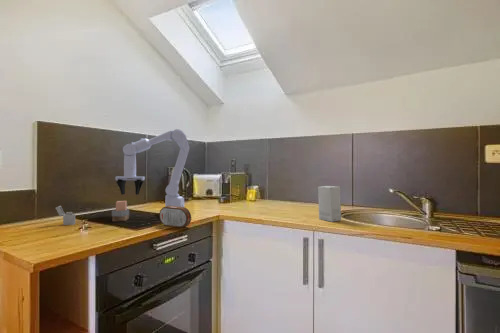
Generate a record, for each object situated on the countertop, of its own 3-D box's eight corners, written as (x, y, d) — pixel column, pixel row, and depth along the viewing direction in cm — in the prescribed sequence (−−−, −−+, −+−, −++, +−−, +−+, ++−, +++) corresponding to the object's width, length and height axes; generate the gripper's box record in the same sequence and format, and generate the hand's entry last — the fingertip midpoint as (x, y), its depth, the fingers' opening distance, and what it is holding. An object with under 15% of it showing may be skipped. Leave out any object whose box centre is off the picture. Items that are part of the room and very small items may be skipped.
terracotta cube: (126, 209, 129) (126, 200, 129) (125, 210, 125) (125, 201, 125) (117, 209, 128) (117, 201, 128) (115, 210, 124) (115, 202, 124)
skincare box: (341, 220, 124) (341, 186, 124) (330, 222, 121) (330, 187, 120) (327, 217, 131) (327, 185, 131) (317, 219, 128) (317, 186, 128)
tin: (191, 227, 111) (191, 206, 111) (186, 229, 108) (186, 208, 108) (163, 224, 118) (163, 204, 118) (158, 225, 115) (158, 205, 115)
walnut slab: (129, 219, 129) (128, 214, 129) (125, 221, 124) (125, 216, 124) (116, 219, 128) (116, 214, 128) (112, 222, 123) (112, 216, 123)
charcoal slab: (129, 214, 128) (129, 209, 128) (121, 216, 123) (121, 211, 123) (119, 214, 129) (119, 208, 129) (111, 216, 124) (111, 210, 124)
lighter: (75, 223, 118) (75, 205, 118) (73, 224, 116) (73, 206, 116) (57, 224, 117) (57, 205, 117) (55, 225, 115) (55, 206, 115)
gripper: (147, 167, 143) (147, 193, 143) (120, 167, 144) (120, 193, 144) (140, 167, 136) (141, 195, 136) (113, 167, 137) (113, 194, 137)
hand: (130, 194), depth 139 cm, fingers open, 7 cm apart
